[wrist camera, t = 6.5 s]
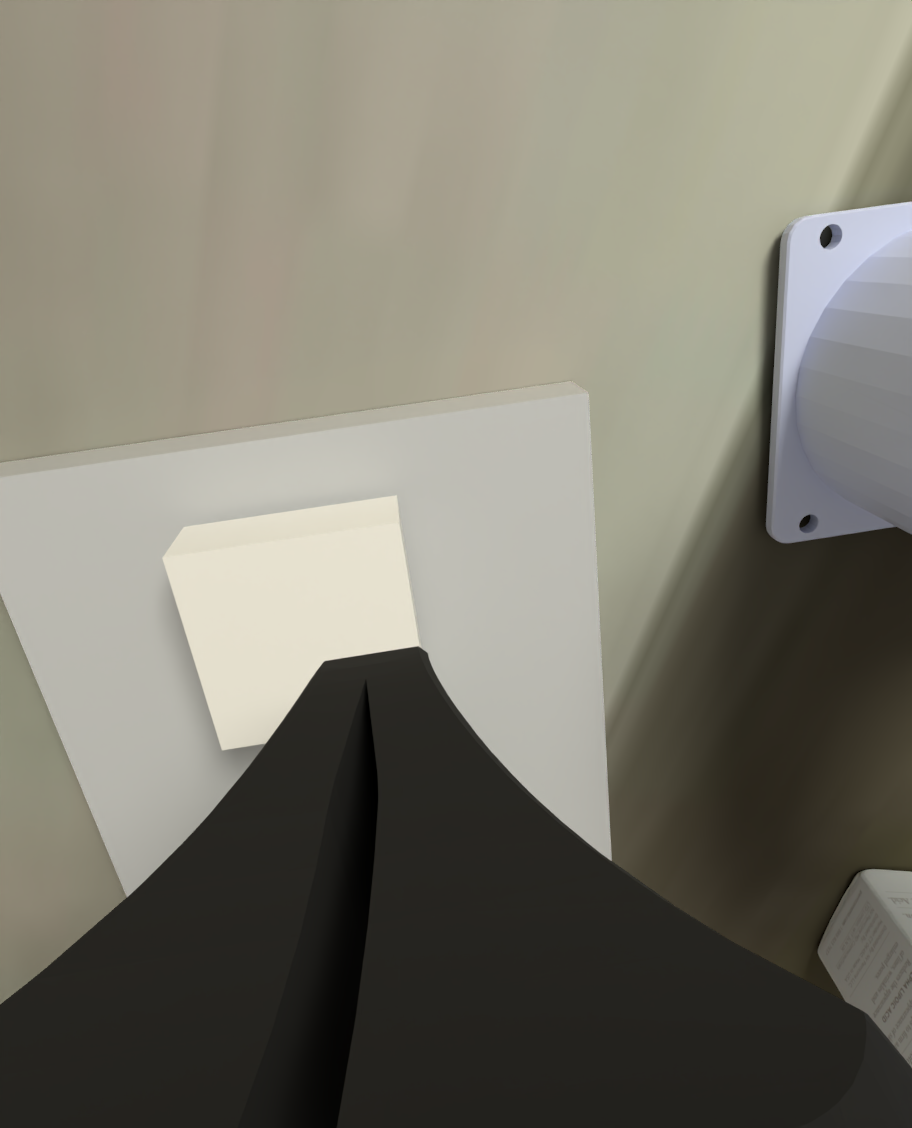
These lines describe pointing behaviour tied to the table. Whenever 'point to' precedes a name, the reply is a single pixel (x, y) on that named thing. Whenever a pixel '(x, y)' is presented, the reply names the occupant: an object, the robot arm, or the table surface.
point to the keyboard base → (300, 481)
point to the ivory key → (288, 604)
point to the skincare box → (875, 951)
